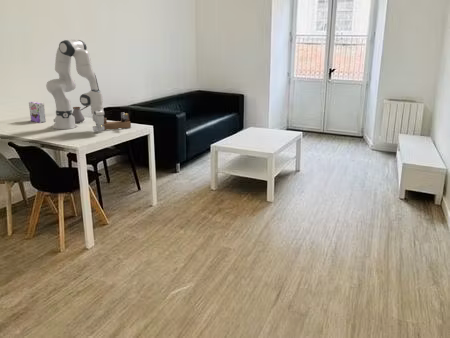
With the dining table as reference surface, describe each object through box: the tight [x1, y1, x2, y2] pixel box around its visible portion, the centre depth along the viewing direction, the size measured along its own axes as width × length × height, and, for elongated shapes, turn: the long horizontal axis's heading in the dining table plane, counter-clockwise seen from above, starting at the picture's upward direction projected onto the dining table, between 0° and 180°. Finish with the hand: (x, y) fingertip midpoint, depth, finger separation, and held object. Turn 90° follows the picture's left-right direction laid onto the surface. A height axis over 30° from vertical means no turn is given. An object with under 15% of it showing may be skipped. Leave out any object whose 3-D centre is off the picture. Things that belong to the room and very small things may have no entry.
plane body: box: [102, 113, 132, 131], centre depth 330 cm, size 7×22×11 cm, turn 120°
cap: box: [92, 125, 106, 132], centre depth 316 cm, size 4×8×4 cm, turn 120°
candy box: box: [28, 100, 47, 124], centre depth 348 cm, size 14×6×16 cm, turn 55°
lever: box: [120, 111, 128, 122], centre depth 327 cm, size 3×12×8 cm, turn 28°
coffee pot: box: [72, 106, 89, 124], centre depth 352 cm, size 21×12×15 cm, turn 138°
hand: (98, 128), depth 316 cm, fingers closed on cap, 4 cm apart
